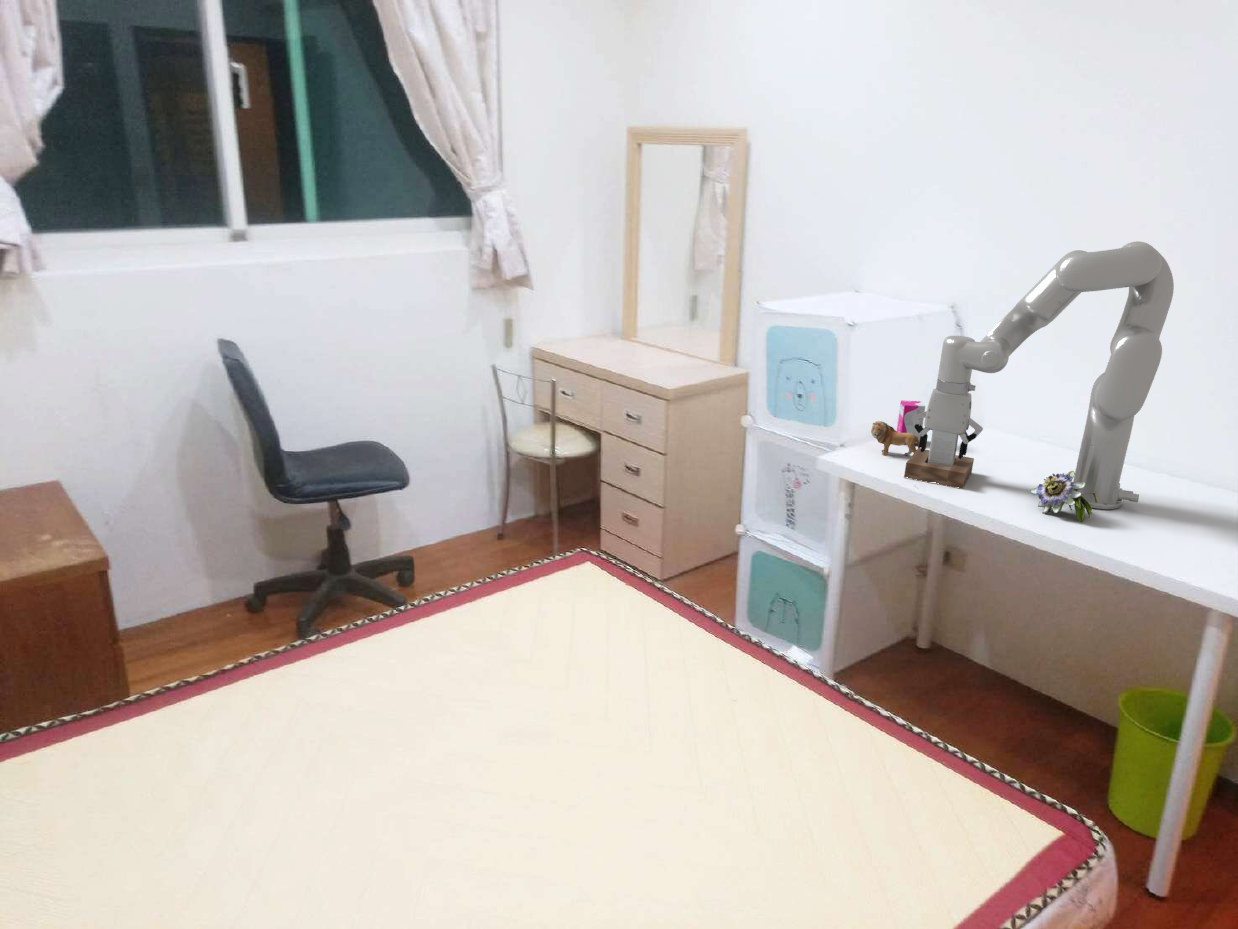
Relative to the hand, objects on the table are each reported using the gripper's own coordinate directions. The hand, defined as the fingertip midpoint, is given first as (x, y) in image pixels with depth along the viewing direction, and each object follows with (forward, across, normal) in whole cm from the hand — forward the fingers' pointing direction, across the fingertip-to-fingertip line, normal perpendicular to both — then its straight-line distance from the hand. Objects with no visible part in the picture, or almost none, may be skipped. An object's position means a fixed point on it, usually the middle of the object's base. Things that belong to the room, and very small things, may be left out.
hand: (941, 453), depth 226 cm
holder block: (+6, 0, 0) cm, 6 cm away
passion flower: (+6, -29, +10) cm, 31 cm away
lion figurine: (+6, +13, -10) cm, 18 cm away
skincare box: (+5, 0, 0) cm, 5 cm away
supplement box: (+6, +13, -25) cm, 29 cm away
